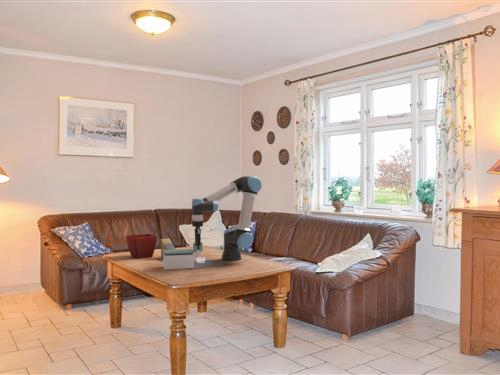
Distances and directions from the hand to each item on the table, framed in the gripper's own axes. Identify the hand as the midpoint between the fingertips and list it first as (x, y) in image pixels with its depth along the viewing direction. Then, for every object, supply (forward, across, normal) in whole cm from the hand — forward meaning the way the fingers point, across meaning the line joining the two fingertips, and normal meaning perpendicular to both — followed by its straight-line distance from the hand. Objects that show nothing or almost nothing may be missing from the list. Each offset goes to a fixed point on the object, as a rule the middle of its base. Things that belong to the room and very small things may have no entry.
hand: (197, 254), depth 311 cm
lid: (-2, 0, -10) cm, 10 cm away
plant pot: (+9, -53, -38) cm, 66 cm away
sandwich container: (+10, -40, -15) cm, 44 cm away
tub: (+9, 0, -14) cm, 16 cm away
